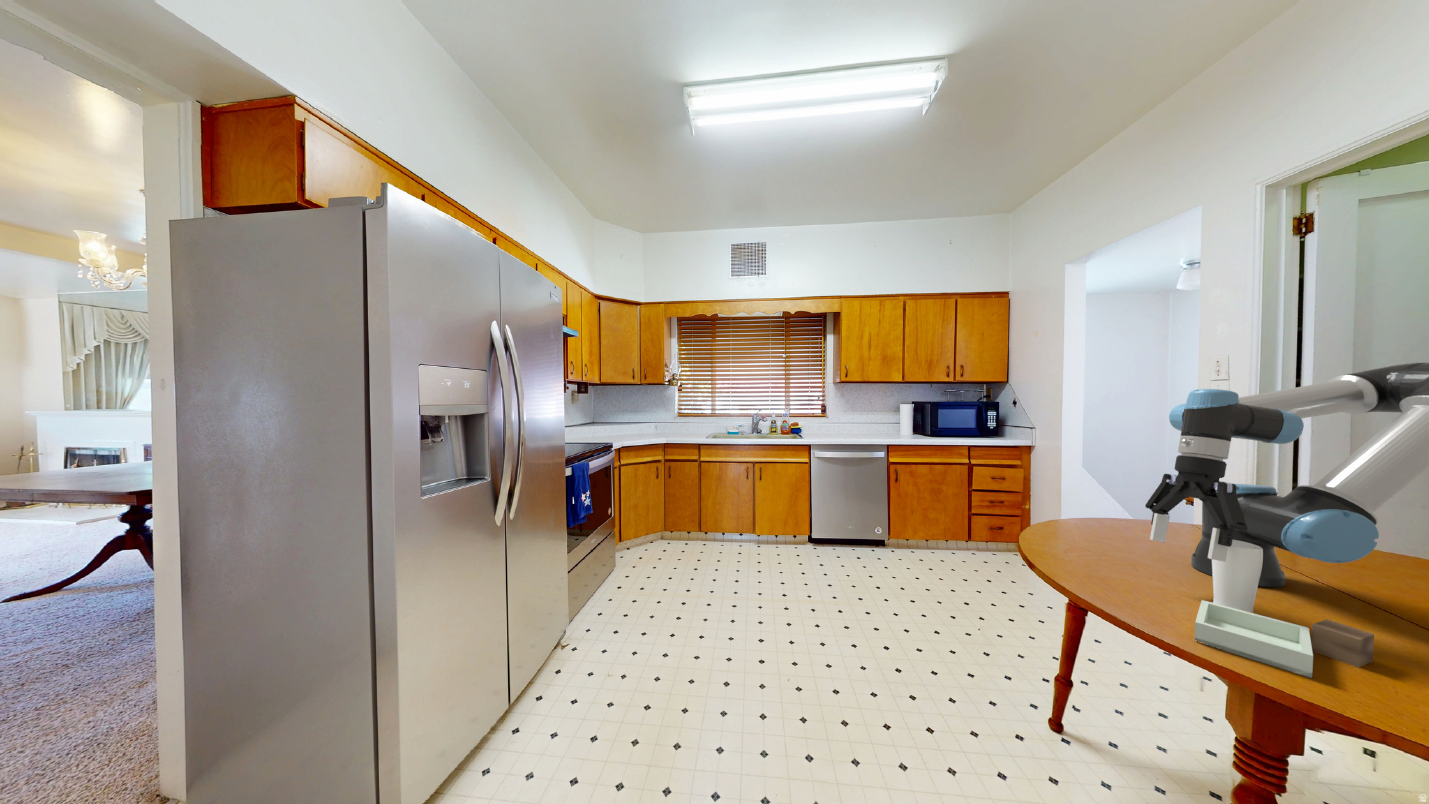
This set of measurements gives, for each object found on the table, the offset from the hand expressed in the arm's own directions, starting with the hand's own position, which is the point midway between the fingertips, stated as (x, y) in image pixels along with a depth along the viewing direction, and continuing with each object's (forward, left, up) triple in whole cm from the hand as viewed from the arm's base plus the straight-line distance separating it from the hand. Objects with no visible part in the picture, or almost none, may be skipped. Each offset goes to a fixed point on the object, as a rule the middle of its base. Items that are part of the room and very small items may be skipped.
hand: (1184, 550), depth 96 cm
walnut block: (-7, +20, -12) cm, 24 cm away
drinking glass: (-4, +6, -12) cm, 14 cm away
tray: (+5, +17, -11) cm, 21 cm away
